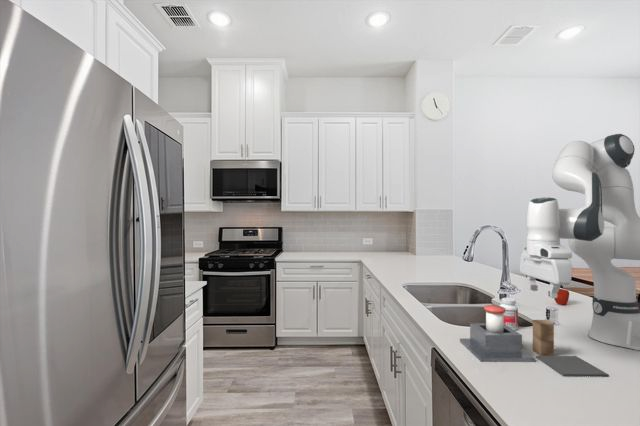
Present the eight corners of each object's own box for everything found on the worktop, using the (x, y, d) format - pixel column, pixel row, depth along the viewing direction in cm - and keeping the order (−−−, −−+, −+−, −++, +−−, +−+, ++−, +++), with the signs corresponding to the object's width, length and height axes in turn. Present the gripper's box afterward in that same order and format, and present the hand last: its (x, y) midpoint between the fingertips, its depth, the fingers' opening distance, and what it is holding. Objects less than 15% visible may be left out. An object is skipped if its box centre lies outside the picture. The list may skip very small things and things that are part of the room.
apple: (551, 304, 165) (551, 288, 165) (555, 302, 169) (555, 286, 169) (567, 307, 161) (567, 291, 161) (570, 304, 165) (570, 289, 165)
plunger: (499, 332, 113) (499, 305, 113) (509, 339, 107) (509, 310, 107) (481, 332, 113) (481, 305, 113) (489, 339, 107) (489, 310, 107)
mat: (575, 357, 105) (575, 355, 105) (608, 376, 93) (608, 374, 93) (536, 357, 105) (536, 355, 105) (563, 376, 93) (563, 374, 93)
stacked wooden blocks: (545, 351, 110) (545, 319, 110) (553, 356, 106) (553, 323, 106) (532, 351, 110) (532, 319, 110) (540, 356, 106) (540, 323, 106)
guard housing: (506, 341, 118) (506, 321, 118) (535, 361, 102) (535, 338, 102) (459, 341, 118) (459, 321, 118) (480, 361, 102) (480, 338, 102)
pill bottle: (507, 324, 136) (507, 296, 136) (521, 329, 130) (521, 300, 130) (495, 326, 133) (495, 297, 133) (509, 331, 128) (509, 301, 128)
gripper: (514, 246, 118) (514, 286, 118) (553, 253, 98) (553, 301, 98) (532, 246, 118) (532, 286, 118) (576, 253, 98) (576, 302, 98)
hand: (542, 293), depth 108 cm, fingers open, 8 cm apart
